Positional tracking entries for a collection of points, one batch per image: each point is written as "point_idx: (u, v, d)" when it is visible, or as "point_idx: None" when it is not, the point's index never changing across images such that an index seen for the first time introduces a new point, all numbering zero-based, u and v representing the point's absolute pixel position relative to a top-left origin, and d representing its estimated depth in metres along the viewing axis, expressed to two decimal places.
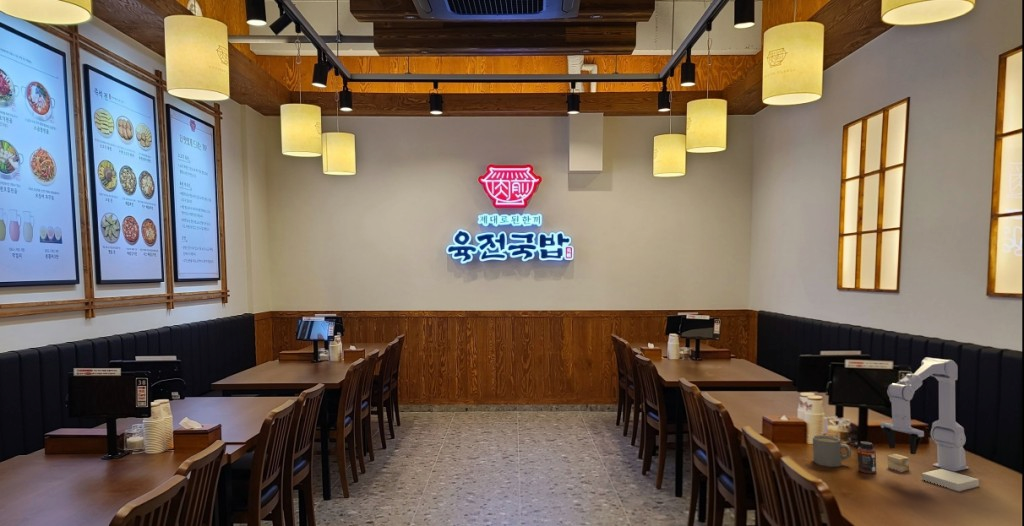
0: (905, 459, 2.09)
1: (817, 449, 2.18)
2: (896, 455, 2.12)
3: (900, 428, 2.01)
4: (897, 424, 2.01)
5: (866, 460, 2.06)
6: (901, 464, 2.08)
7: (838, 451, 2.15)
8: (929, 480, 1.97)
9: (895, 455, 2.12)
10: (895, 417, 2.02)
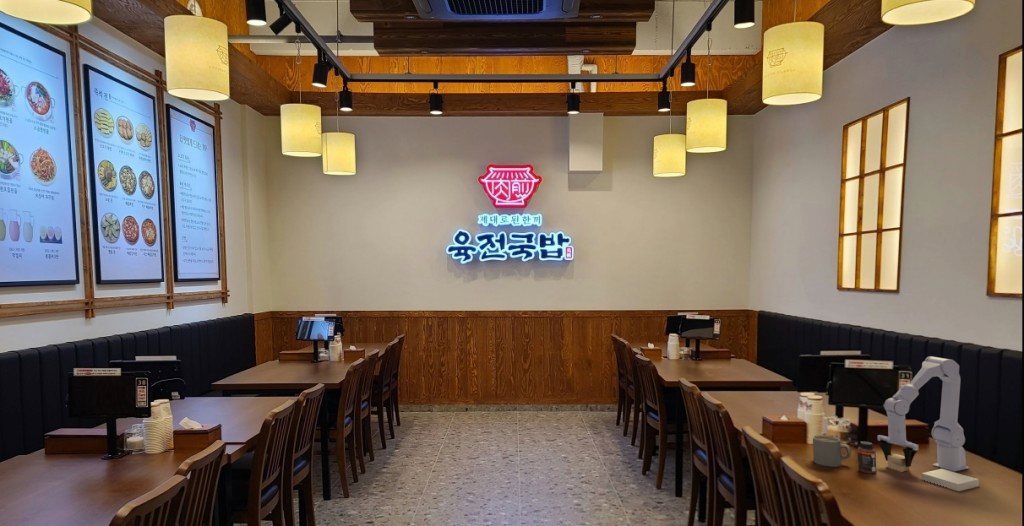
0: None
1: (817, 449, 2.18)
2: (896, 455, 2.12)
3: (896, 441, 2.09)
4: (893, 437, 2.10)
5: (866, 460, 2.06)
6: (901, 464, 2.08)
7: (838, 451, 2.15)
8: (929, 480, 1.97)
9: (895, 455, 2.12)
10: (891, 431, 2.11)
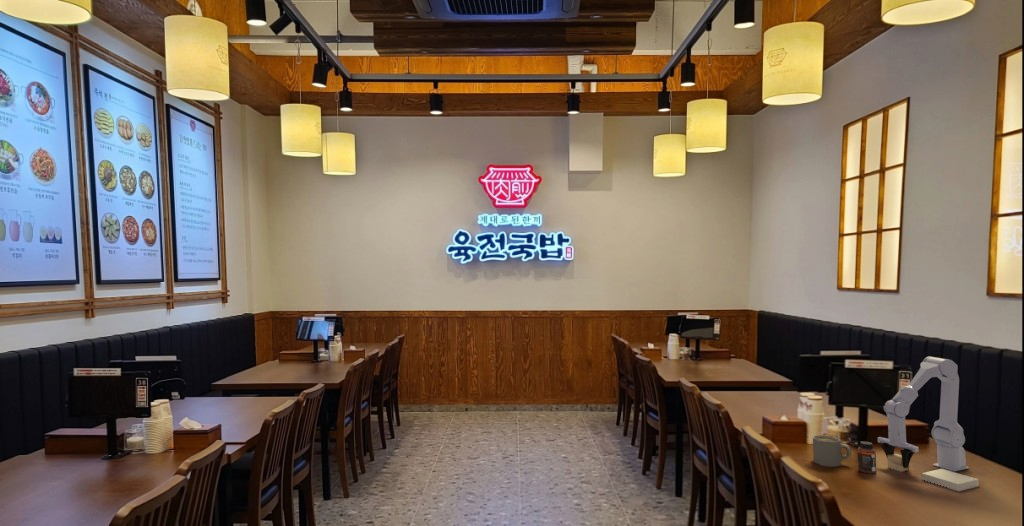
0: None
1: (817, 449, 2.18)
2: (896, 455, 2.12)
3: (896, 443, 2.09)
4: (893, 439, 2.10)
5: (866, 460, 2.06)
6: (901, 464, 2.08)
7: (838, 451, 2.15)
8: (929, 480, 1.97)
9: (895, 455, 2.12)
10: (891, 433, 2.11)
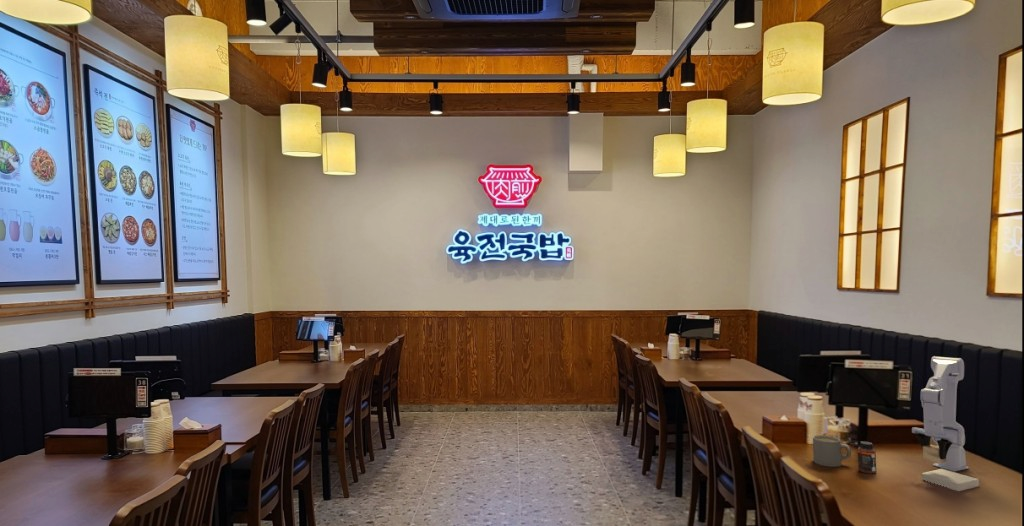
0: None
1: (817, 449, 2.18)
2: (932, 446, 2.02)
3: (932, 433, 1.98)
4: (929, 429, 1.99)
5: (866, 460, 2.06)
6: (938, 455, 1.97)
7: (838, 451, 2.15)
8: (929, 480, 1.97)
9: (931, 446, 2.02)
10: (927, 422, 2.00)
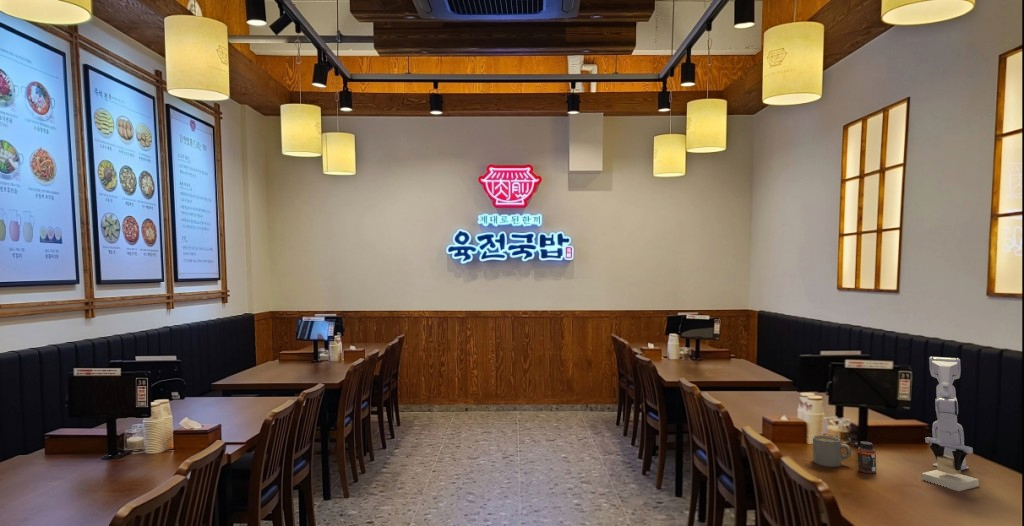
0: None
1: (817, 449, 2.18)
2: (946, 456, 1.97)
3: (947, 444, 1.94)
4: (944, 439, 1.95)
5: (866, 460, 2.06)
6: (953, 466, 1.93)
7: (838, 451, 2.15)
8: (929, 480, 1.97)
9: (945, 456, 1.97)
10: (941, 432, 1.96)
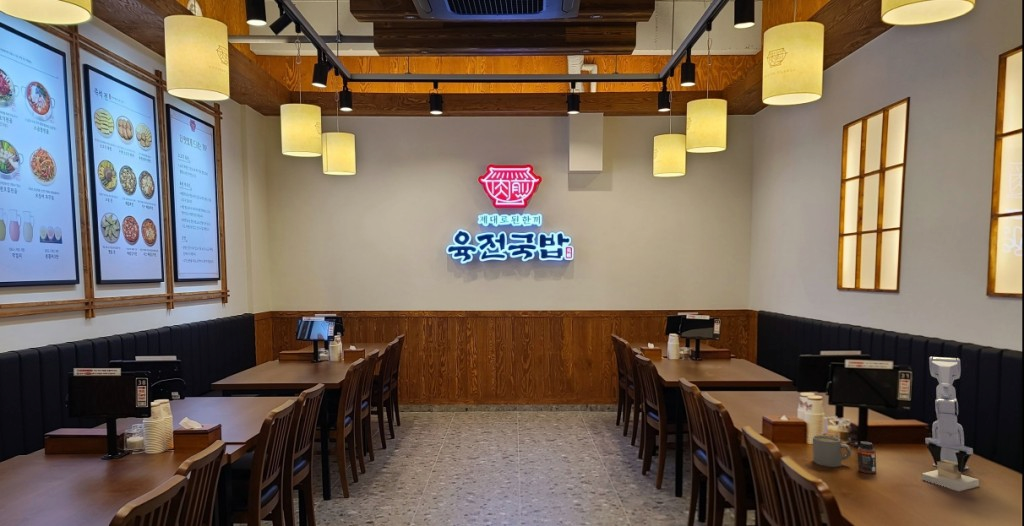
0: (957, 465, 1.94)
1: (817, 449, 2.18)
2: (946, 461, 1.97)
3: (947, 445, 1.94)
4: (944, 440, 1.95)
5: (866, 460, 2.06)
6: (953, 471, 1.93)
7: (838, 451, 2.15)
8: (929, 480, 1.97)
9: (945, 461, 1.97)
10: (941, 433, 1.96)
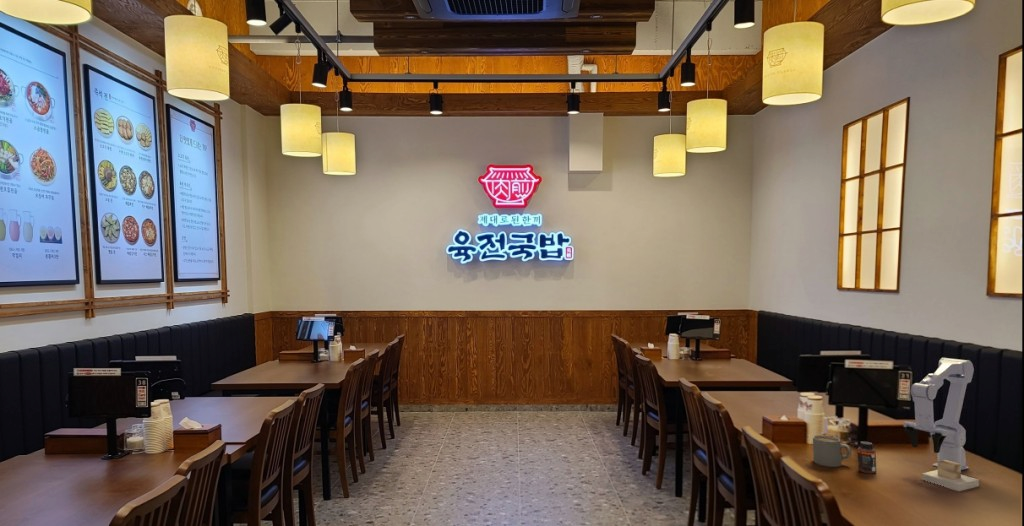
0: (957, 465, 1.94)
1: (817, 449, 2.18)
2: (946, 461, 1.97)
3: (923, 427, 2.04)
4: (921, 423, 2.04)
5: (866, 460, 2.06)
6: (953, 471, 1.93)
7: (838, 451, 2.15)
8: (929, 480, 1.97)
9: (945, 461, 1.97)
10: (918, 416, 2.05)
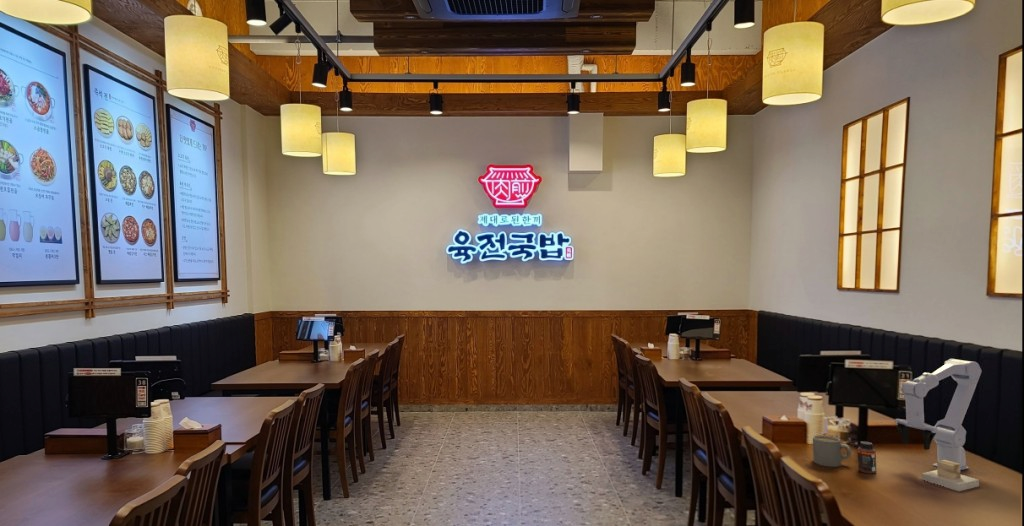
0: (957, 465, 1.94)
1: (817, 449, 2.18)
2: (946, 461, 1.97)
3: (914, 424, 2.08)
4: (911, 420, 2.08)
5: (866, 460, 2.06)
6: (953, 471, 1.93)
7: (838, 451, 2.15)
8: (929, 480, 1.97)
9: (945, 461, 1.97)
10: (909, 414, 2.09)
